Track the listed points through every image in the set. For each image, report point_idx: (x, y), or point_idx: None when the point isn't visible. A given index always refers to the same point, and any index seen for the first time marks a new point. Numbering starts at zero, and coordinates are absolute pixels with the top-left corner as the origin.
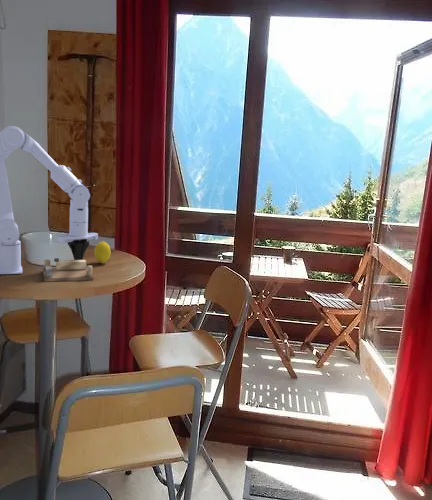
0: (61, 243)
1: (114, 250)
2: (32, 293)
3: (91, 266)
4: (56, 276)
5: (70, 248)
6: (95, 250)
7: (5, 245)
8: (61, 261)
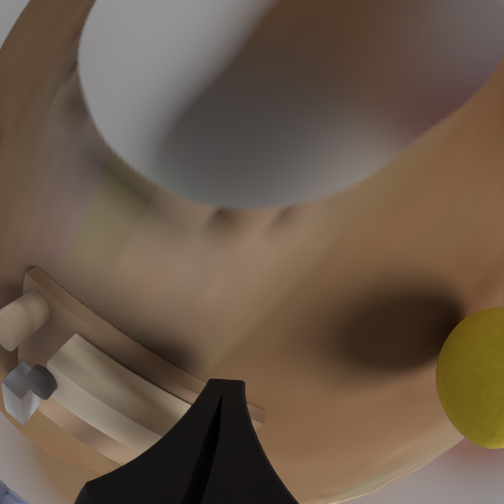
0: (8, 492)
1: None
2: (4, 414)
3: None
4: (53, 411)
5: (137, 458)
6: (471, 387)
7: None
8: (70, 401)
